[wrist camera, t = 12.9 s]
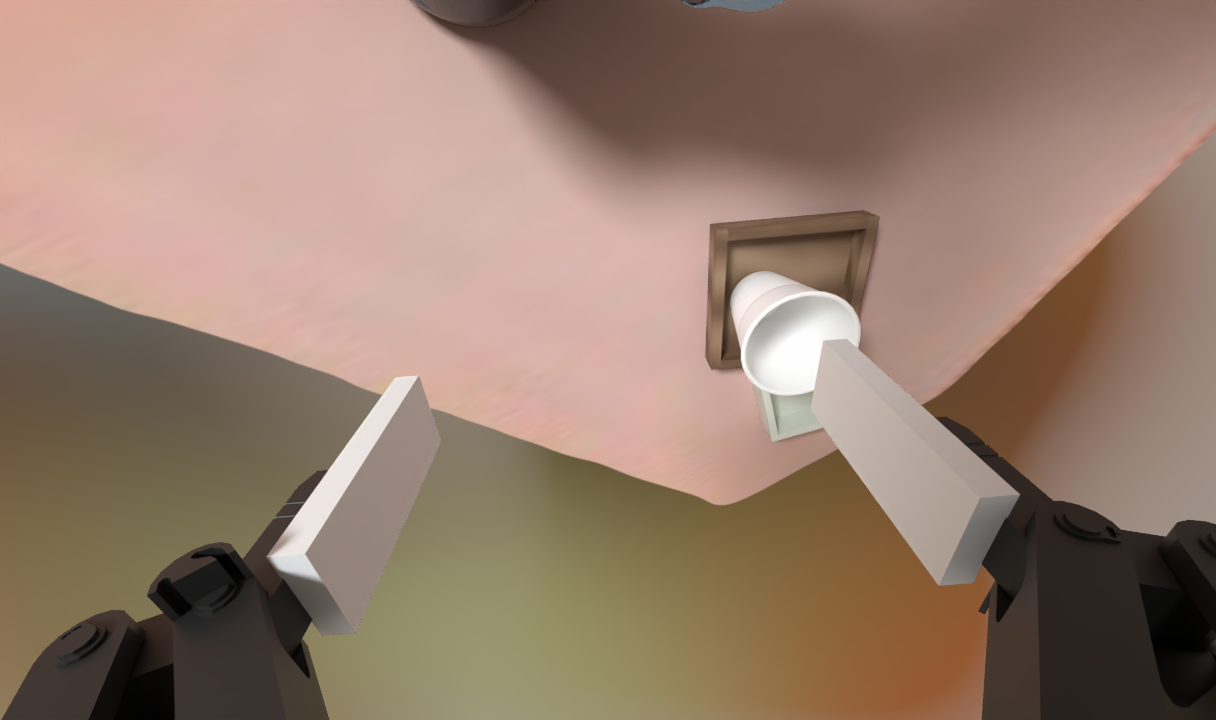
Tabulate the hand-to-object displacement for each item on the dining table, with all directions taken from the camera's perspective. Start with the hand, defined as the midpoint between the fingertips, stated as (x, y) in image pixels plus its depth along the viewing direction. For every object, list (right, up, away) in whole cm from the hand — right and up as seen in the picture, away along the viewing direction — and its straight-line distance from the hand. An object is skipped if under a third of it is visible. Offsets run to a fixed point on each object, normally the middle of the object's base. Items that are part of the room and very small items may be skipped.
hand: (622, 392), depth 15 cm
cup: (+15, +8, +32) cm, 36 cm away
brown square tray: (+18, +9, +32) cm, 38 cm away
